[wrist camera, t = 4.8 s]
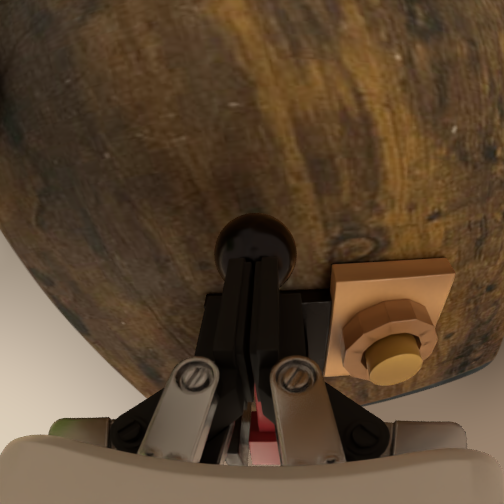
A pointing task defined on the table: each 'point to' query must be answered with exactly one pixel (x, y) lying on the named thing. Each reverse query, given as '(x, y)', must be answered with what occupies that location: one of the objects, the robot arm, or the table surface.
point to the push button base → (383, 308)
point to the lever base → (316, 339)
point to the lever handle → (253, 249)
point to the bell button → (393, 359)
